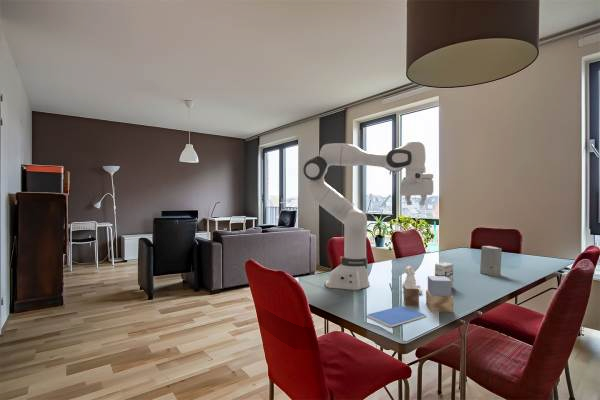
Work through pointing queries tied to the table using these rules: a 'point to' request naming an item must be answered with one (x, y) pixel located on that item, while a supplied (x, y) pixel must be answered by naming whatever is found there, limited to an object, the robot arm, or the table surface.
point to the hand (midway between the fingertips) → (415, 205)
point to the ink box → (444, 270)
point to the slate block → (439, 286)
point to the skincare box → (490, 260)
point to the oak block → (439, 303)
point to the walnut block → (411, 295)
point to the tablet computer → (396, 316)
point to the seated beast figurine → (410, 278)
